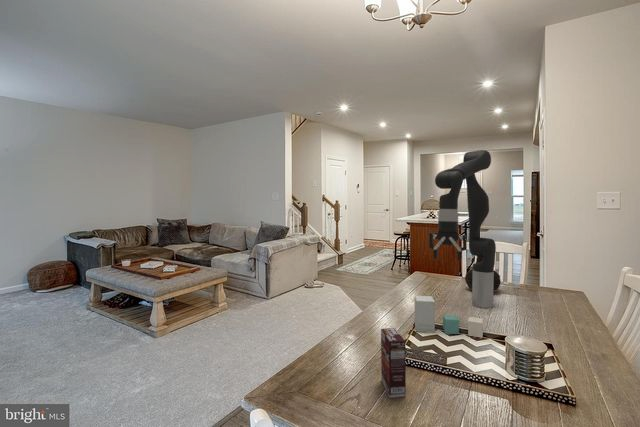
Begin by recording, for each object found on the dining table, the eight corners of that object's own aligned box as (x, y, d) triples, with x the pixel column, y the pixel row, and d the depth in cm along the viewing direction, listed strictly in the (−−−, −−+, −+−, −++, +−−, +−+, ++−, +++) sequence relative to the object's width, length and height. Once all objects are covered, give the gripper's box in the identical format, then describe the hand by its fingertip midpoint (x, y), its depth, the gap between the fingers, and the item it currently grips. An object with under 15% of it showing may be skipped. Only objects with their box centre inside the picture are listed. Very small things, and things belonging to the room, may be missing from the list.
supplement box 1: (380, 380, 96) (380, 328, 96) (396, 379, 97) (396, 327, 96) (389, 398, 88) (388, 341, 87) (406, 397, 88) (406, 340, 87)
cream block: (468, 331, 130) (469, 316, 130) (482, 333, 128) (483, 318, 128) (468, 336, 126) (468, 321, 125) (482, 338, 123) (482, 323, 123)
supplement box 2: (435, 333, 129) (435, 301, 128) (415, 331, 130) (415, 300, 130) (432, 325, 136) (432, 296, 135) (414, 324, 138) (414, 295, 137)
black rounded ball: (501, 297, 172) (502, 244, 170) (464, 293, 179) (465, 243, 178) (499, 288, 188) (500, 240, 186) (465, 285, 196) (465, 238, 194)
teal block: (442, 329, 133) (442, 314, 132) (455, 329, 132) (455, 315, 132) (445, 334, 128) (445, 319, 127) (458, 335, 127) (459, 319, 127)
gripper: (467, 220, 133) (466, 259, 134) (431, 219, 140) (430, 257, 140) (466, 221, 127) (465, 262, 127) (428, 220, 133) (427, 259, 133)
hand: (447, 259), depth 134 cm, fingers open, 8 cm apart
